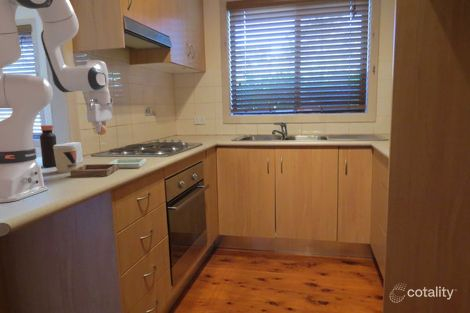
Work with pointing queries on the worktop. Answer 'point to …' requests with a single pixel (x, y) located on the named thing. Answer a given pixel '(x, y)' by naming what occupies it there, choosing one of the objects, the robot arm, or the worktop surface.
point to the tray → (129, 163)
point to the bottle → (48, 146)
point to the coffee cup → (65, 157)
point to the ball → (102, 130)
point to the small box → (78, 151)
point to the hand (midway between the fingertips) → (101, 131)
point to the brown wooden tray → (94, 170)
